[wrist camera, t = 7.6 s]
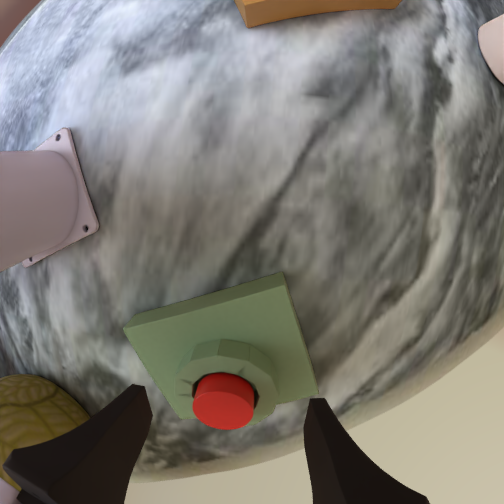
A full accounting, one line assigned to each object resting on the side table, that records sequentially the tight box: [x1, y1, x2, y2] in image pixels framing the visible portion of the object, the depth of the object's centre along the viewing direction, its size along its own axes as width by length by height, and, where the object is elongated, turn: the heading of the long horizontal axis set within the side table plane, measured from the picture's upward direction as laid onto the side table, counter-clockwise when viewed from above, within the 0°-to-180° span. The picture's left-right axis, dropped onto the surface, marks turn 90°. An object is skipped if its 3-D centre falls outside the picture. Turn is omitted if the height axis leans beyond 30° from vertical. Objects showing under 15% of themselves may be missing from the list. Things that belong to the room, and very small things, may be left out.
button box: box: [123, 272, 319, 427], centre depth 18 cm, size 11×9×4 cm
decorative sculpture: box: [0, 374, 90, 492], centre depth 14 cm, size 16×16×20 cm
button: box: [192, 373, 254, 430], centre depth 16 cm, size 4×4×2 cm
